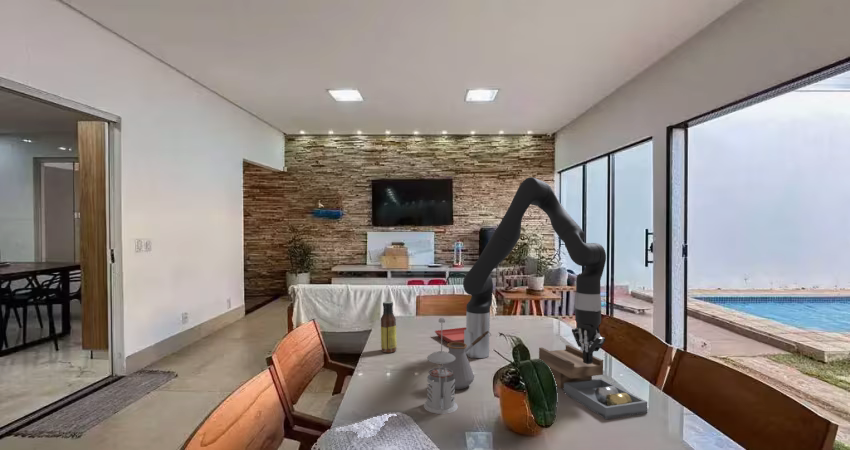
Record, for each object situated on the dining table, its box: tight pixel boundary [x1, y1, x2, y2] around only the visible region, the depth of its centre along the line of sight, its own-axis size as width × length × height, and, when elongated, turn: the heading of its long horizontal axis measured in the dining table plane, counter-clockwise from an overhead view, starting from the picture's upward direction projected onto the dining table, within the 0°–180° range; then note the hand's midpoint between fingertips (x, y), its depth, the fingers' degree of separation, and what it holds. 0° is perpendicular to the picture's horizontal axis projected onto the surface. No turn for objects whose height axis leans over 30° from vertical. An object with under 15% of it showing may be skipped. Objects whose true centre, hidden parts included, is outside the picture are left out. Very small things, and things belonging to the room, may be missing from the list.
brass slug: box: [607, 393, 632, 406], centre depth 114 cm, size 5×4×4 cm
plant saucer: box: [434, 326, 466, 343], centre depth 184 cm, size 18×18×3 cm
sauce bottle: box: [380, 301, 398, 354], centre depth 166 cm, size 7×6×20 cm
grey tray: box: [563, 378, 648, 420], centre depth 120 cm, size 14×18×3 cm
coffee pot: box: [442, 331, 492, 390], centre depth 135 cm, size 21×12×15 cm, turn 130°
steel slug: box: [595, 386, 619, 403], centre depth 119 cm, size 5×4×4 cm
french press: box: [423, 317, 459, 415], centre depth 115 cm, size 10×12×25 cm
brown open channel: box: [538, 344, 604, 389], centre depth 135 cm, size 12×17×10 cm
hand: (587, 363), depth 127 cm, fingers closed
